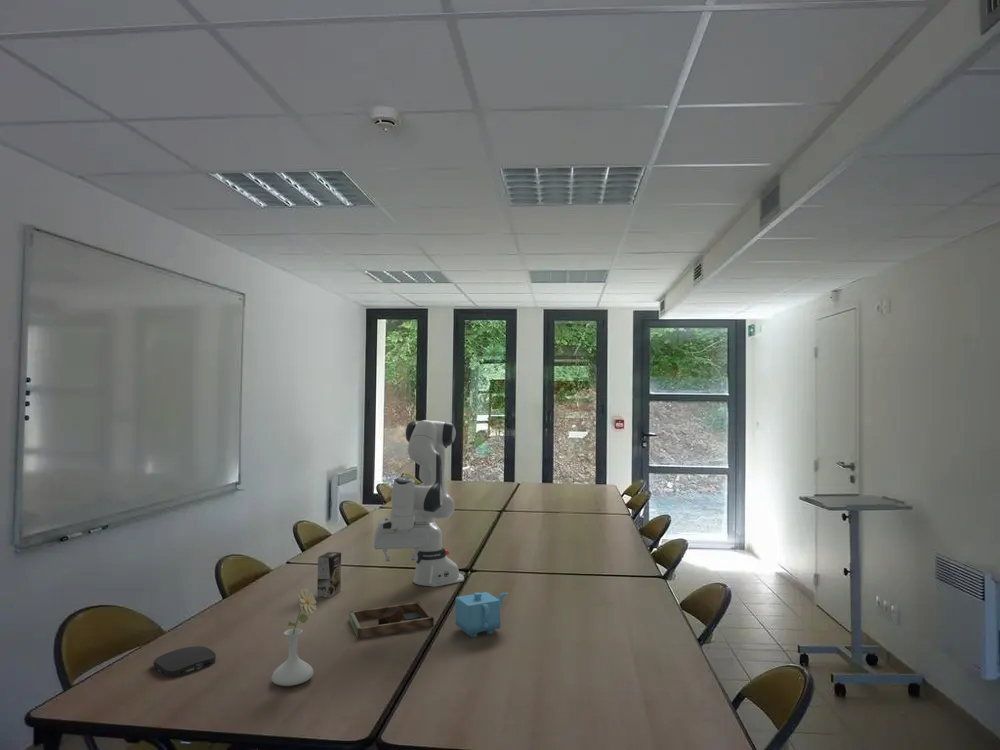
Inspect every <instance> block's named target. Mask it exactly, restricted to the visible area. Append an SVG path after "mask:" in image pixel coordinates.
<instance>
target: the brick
mask: <svg viewBox="0 0 1000 750" xmlns="http://www.w3.org/2000/svg"><path fill="white" fill-rule="evenodd" d="M403 619H404V618H403V609H402V607H393V608H391V609H389V610H388V611H387V612H385V613H384V614H382V615H381V617H379V619H378V625H382V624H388V623H395V622H401V621H404V620H403Z"/></svg>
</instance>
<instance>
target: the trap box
mask: <svg viewBox="0 0 1000 750" xmlns="http://www.w3.org/2000/svg"><path fill="white" fill-rule="evenodd" d="M393 607H402V609H403V613H409V612H416V611H417V612H418V613H419V615H420V616H421V617H422V618H421V619H415V620H408V621H405V620H402V621H400V622H395V623H388V624H382V625H379V624H377V625H376V624H375V625H370V626H363V627H362V626H361V625H360V623H359V621H360V620H361V621H362V620H367V619H375V618H380V617H381V615H382V614H384V613H385V612H387V611H388V610H389V609H391V608H393ZM348 619H349V623H350V624H351V627H352V629H353V630H354V632H355V634H356V637H357V639H363V638H370V637H377V636H382V635H388V634H395V633H401V632H407V631H408V632H409V631H414V630H415V631H416V630H421V629H426V628H427V629H428V628H433V627H434V624H435V623H434V622H435V621H434V617H433V615H432V614H431V613H430V612H429V611H428V610H427V609H426V607H424V605H423V604H422V603H421V602H420V601H417V602H416V601H415V602H410V603H409V602H408V603H403V604H395V605H388V606H380V607H374V608H367V609H360V610H359V609H358V610H353V611H349V618H348Z"/></svg>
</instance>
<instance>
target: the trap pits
mask: <svg viewBox="0 0 1000 750" xmlns="http://www.w3.org/2000/svg"><path fill="white" fill-rule="evenodd" d="M421 618H422V616H421V615H420V614H419V613H418V611H416V612H409V613H403V619H404V621H408V620H415V619H421Z"/></svg>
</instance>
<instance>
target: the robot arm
mask: <svg viewBox="0 0 1000 750" xmlns="http://www.w3.org/2000/svg"><path fill="white" fill-rule="evenodd" d="M456 435H457V432H456V428H455V425H454V423H452V422H449V421H440V420H432V419H431V420H429V419H428V420H427V419H423V420H412V421H410V422H409V423H407V425H406V429H405V439H406V441H407V442H408V445H407V446H408V447H407V454H408V456H409V457H410V459H411V460H412V461H413V462H414V463H416V464H417V465H419V472H418V477H419V480H420V481H421V482H422V483H423V484H416V483H415V482H416V481H415V479H414V478H412V477H408V476H402V477H401V476H400V477H397V478H395V479H394V481H393V484H392V490H391V499H390V504H391V510H390V515H389V516H388V517H386V518H381V519H380V520H378V521H377V528H376V529H375V531H374V535H373V541H372V542H373V543H372V546H373V548H374V549H375V550H382V552H383V554H384V558H385V562H390V561H391V555H390V554H389V555H388V554H387V552H388V550H394V549H395V550H396V549H400V550H401V549H414V552H413V553H411V554H410V561H415V562H416V564H415V571H414V576H413V580H412V582H413V583H414V584H416V585H419V586H426V587H427V586H428V587H432V588H436V587H441V586H445V585H451V584H456V583H460V582H464V581H465V577H464V574H462V573H461V572H460V571H459V567H458V565H457V564H456V562H454V560H452V559H450V558H449V557H448V555H449V554H450V551H449V550H448V549H445V548H444V547H443V546H442V545H443V541H442V539H443V533H442V529H441V528H440V527H439V526H438V524H437V523H436V520H441V519H442V520H443V519H448V518H450V517H451V516H452V515H453V514H454V512H455V508H456V507H455V506H456V505H455V500H454V499H453V497H452V496H451V495H450V494H449V491H448V489H447V487H446V483H445V462H446V461H445V459H446V450H445V449H447V448H448V447H451V445H452V444H453V443H454V441H455V439H456Z"/></svg>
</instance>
